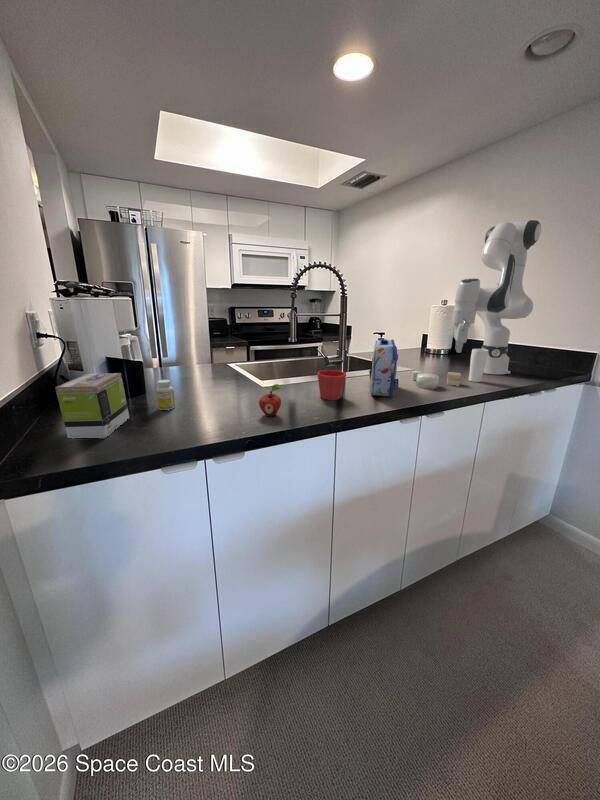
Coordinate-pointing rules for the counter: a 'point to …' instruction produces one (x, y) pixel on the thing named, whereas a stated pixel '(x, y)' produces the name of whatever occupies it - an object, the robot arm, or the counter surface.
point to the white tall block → (477, 364)
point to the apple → (270, 402)
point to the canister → (427, 380)
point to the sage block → (414, 374)
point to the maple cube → (453, 378)
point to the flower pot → (331, 384)
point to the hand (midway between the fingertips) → (457, 351)
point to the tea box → (93, 405)
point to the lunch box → (384, 368)
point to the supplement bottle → (165, 395)
